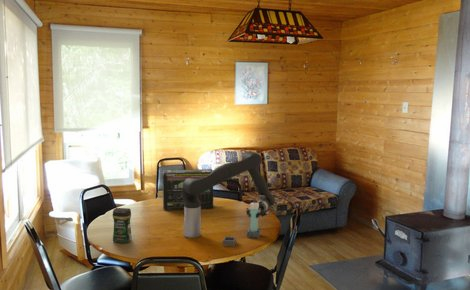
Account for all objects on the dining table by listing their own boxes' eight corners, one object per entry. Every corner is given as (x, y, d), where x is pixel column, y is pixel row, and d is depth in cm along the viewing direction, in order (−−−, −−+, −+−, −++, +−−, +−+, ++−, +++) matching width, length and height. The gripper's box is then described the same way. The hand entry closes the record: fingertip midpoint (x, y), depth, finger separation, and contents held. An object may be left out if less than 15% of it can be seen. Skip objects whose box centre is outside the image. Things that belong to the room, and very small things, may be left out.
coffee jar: (110, 242, 227) (110, 209, 224) (117, 237, 234) (116, 205, 232) (127, 244, 225) (127, 210, 223) (133, 239, 233) (132, 206, 231)
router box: (212, 204, 305) (212, 168, 301) (213, 209, 294) (214, 171, 290) (162, 206, 299) (162, 169, 295) (162, 210, 288) (162, 172, 284)
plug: (249, 232, 239) (250, 198, 236) (251, 229, 243) (251, 196, 240) (256, 232, 238) (257, 199, 235) (258, 230, 242) (258, 197, 239)
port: (247, 237, 238) (247, 231, 237) (248, 233, 244) (248, 227, 244) (259, 238, 237) (259, 232, 236) (260, 234, 244) (260, 228, 243)
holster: (222, 245, 225) (222, 240, 224) (224, 241, 231) (224, 236, 230) (234, 246, 224) (234, 241, 223) (236, 242, 230) (236, 237, 230)
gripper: (249, 200, 254) (241, 208, 238) (271, 202, 250) (265, 210, 234) (249, 212, 255) (241, 221, 239) (271, 214, 251) (265, 223, 235)
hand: (253, 215), depth 236 cm, fingers closed on plug, 3 cm apart
